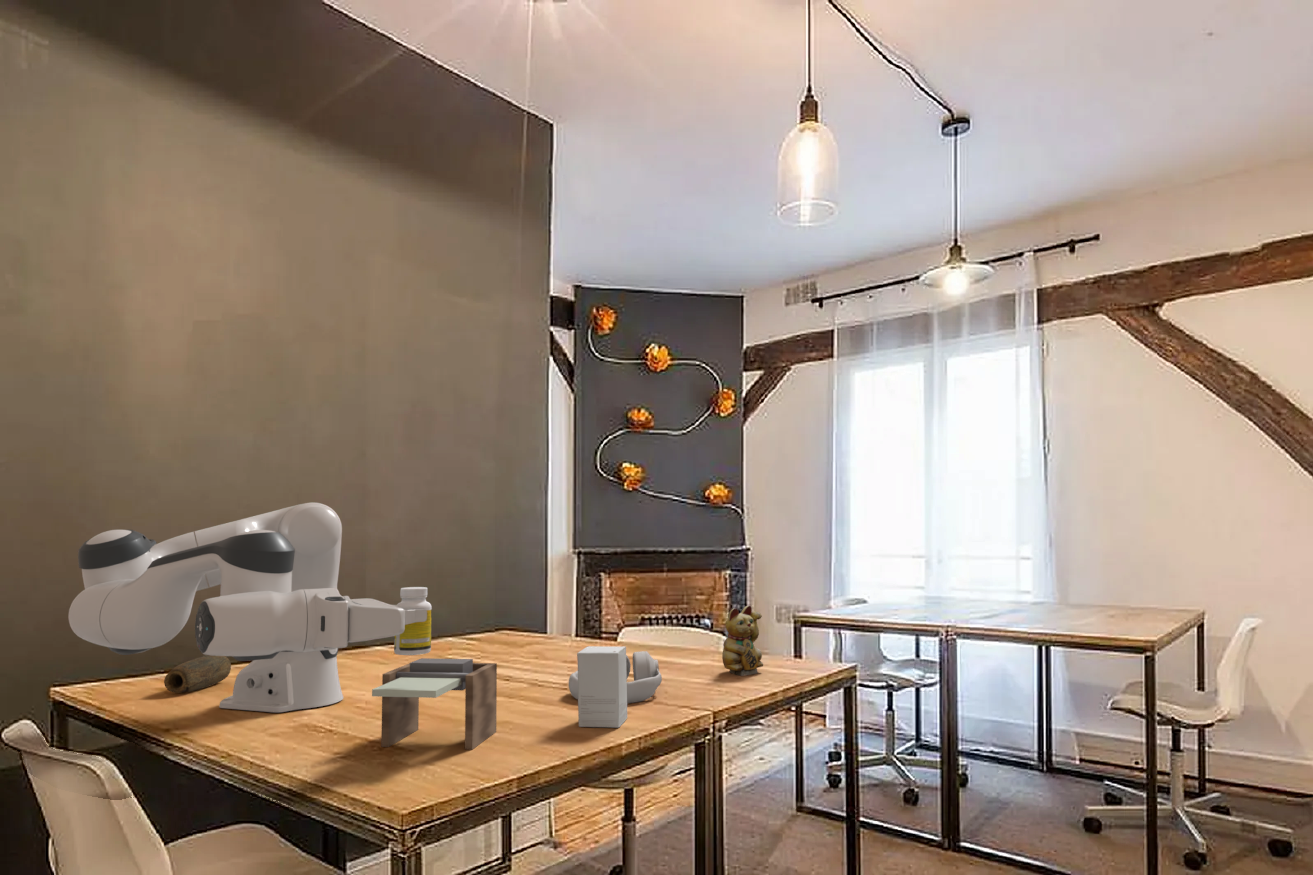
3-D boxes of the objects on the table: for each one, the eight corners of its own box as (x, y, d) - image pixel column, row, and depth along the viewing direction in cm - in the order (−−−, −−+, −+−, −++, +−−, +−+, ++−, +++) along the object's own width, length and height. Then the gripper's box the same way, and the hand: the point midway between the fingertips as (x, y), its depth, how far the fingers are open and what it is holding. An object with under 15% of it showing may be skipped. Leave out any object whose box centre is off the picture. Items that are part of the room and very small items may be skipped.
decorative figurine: (738, 678, 187) (737, 608, 189) (712, 673, 194) (711, 606, 195) (768, 672, 194) (766, 605, 195) (741, 667, 200) (740, 602, 201)
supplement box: (628, 718, 152) (627, 645, 153) (619, 728, 144) (618, 652, 146) (588, 717, 153) (587, 645, 154) (576, 727, 146) (576, 651, 147)
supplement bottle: (438, 652, 130) (439, 587, 131) (406, 657, 126) (408, 590, 127) (418, 649, 134) (419, 585, 135) (386, 653, 130) (388, 588, 131)
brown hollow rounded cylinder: (202, 682, 191) (203, 651, 192) (232, 682, 190) (234, 651, 191) (159, 696, 176) (161, 663, 177) (192, 696, 176) (193, 663, 176)
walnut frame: (411, 729, 146) (412, 662, 147) (496, 731, 143) (496, 663, 144) (381, 746, 135) (382, 674, 136) (472, 749, 132) (472, 675, 133)
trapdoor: (413, 683, 143) (413, 658, 143) (480, 685, 141) (480, 659, 141) (366, 705, 127) (366, 676, 127) (441, 707, 125) (441, 677, 126)
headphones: (594, 679, 185) (556, 713, 166) (592, 643, 185) (554, 673, 166) (676, 683, 180) (646, 719, 161) (674, 646, 179) (644, 678, 160)
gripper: (310, 633, 132) (401, 626, 140) (337, 650, 115) (438, 641, 122) (311, 592, 133) (401, 587, 140) (338, 602, 116) (439, 596, 123)
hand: (419, 612), depth 131 cm, fingers closed on supplement bottle, 5 cm apart
